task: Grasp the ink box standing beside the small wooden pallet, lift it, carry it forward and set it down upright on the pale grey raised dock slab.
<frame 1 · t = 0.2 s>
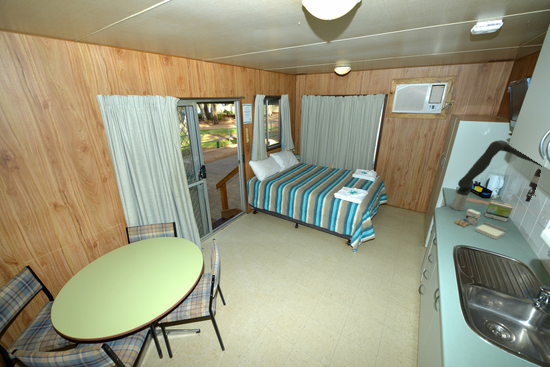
hand: (529, 200, 176), 29 cm above the kitchen counter, fingers open, 8 cm apart
pallet: (461, 224, 197), on the kitchen counter
tea box: (495, 217, 207), on the kitchen counter
dock: (488, 232, 184), on the kitchen counter
ink box: (469, 222, 199), on the kitchen counter
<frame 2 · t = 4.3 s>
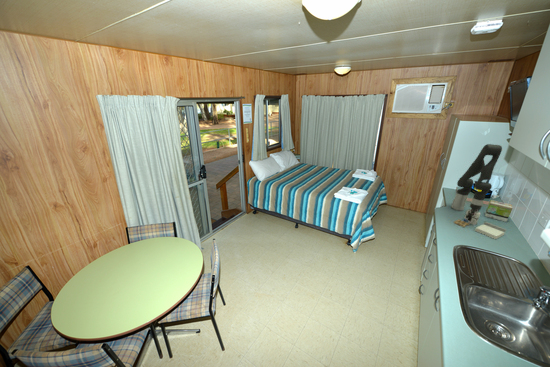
hand: (470, 219, 198), 3 cm above the kitchen counter, fingers closed on ink box, 5 cm apart
ink box: (469, 222, 199), on the kitchen counter, touching gripper
everything else where it was.
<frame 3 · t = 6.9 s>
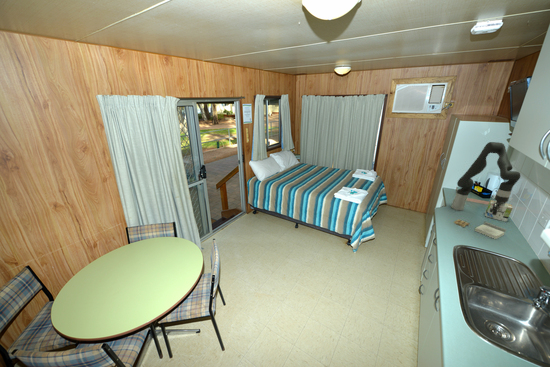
hand: (495, 213, 178), 18 cm above the kitchen counter, fingers closed on ink box, 5 cm apart
ink box: (494, 217, 179), point 15 cm above the kitchen counter, touching gripper
everything else where it was.
when the fingers open (7 cm above the kitchen counter, at t = 9.8 s): ink box drops 1 cm, resting on dock.
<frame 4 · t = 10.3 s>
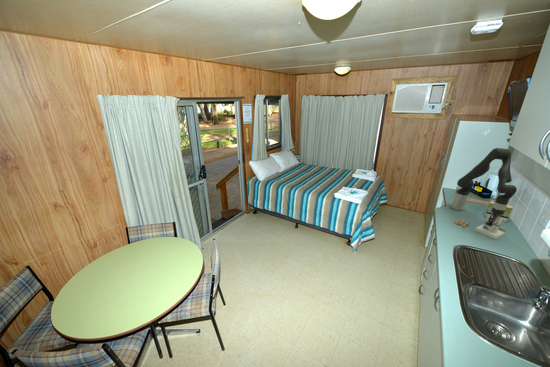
hand: (492, 224, 181), 8 cm above the kitchen counter, fingers open, 8 cm apart
ink box: (489, 229, 183), point 3 cm above the kitchen counter, touching dock
everything else where it was.
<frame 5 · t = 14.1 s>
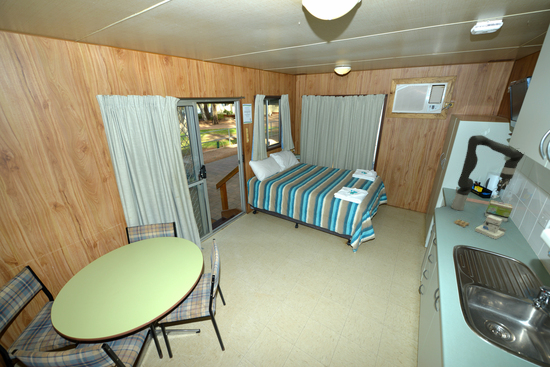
hand: (500, 190, 185), 33 cm above the kitchen counter, fingers open, 8 cm apart
nothing on the kitchen counter moved.
at the end: ink box inside the target area on the dock (0.1 cm from its centre), point 2.8 cm above the dock's base; ink box tilted 0°; the gripper is holding nothing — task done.
